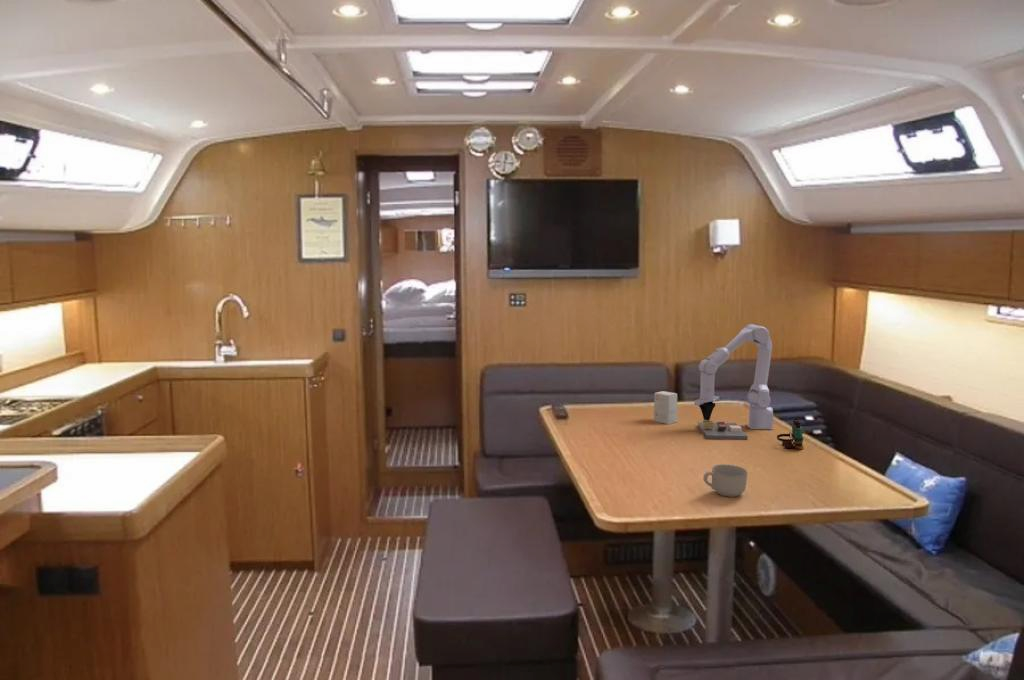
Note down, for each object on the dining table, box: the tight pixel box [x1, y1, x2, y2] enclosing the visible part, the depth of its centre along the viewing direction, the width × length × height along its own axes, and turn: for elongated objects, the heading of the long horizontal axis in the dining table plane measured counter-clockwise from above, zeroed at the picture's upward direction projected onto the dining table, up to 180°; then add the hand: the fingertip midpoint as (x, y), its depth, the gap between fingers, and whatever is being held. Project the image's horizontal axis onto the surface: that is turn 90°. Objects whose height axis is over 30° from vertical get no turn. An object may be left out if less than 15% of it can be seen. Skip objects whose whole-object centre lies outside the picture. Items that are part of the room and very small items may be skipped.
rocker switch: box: [716, 421, 726, 429], centre depth 308 cm, size 3×5×1 cm, turn 175°
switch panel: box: [697, 422, 748, 441], centre depth 310 cm, size 16×22×2 cm
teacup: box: [703, 463, 749, 498], centre depth 233 cm, size 14×11×8 cm
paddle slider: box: [701, 420, 714, 429], centre depth 309 cm, size 4×2×3 cm, turn 85°
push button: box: [729, 424, 743, 432], centre depth 308 cm, size 4×4×2 cm
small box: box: [653, 390, 678, 425], centre depth 329 cm, size 8×6×13 cm
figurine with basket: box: [776, 418, 805, 450], centre depth 287 cm, size 9×11×10 cm
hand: (706, 419), depth 315 cm, fingers closed
